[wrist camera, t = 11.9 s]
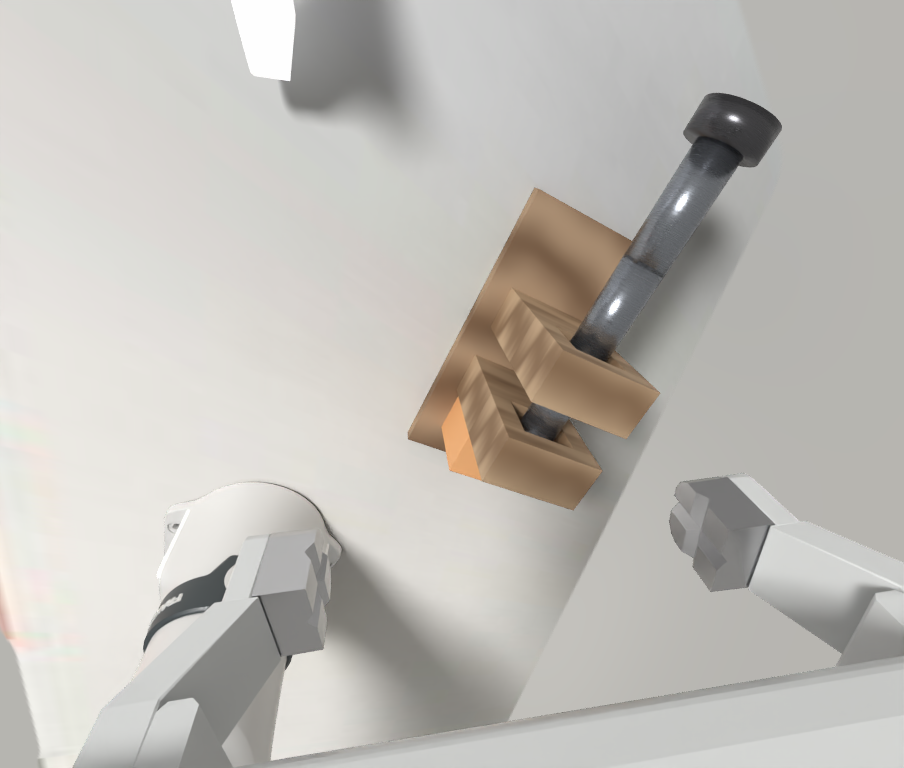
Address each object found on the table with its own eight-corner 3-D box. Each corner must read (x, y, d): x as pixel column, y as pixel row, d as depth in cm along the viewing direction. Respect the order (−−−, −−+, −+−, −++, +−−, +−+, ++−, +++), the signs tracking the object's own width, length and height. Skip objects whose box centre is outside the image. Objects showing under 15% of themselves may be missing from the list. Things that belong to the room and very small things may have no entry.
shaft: (543, 437, 40) (562, 472, 36) (495, 419, 39) (508, 453, 35) (742, 134, 31) (799, 134, 27) (688, 96, 29) (739, 89, 25)
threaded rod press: (506, 465, 52) (547, 577, 39) (407, 432, 49) (415, 542, 35) (645, 249, 43) (761, 300, 29) (534, 187, 39) (610, 213, 26)
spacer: (500, 447, 49) (517, 492, 43) (441, 426, 47) (449, 470, 41) (519, 417, 48) (539, 458, 42) (459, 394, 46) (470, 434, 40)
